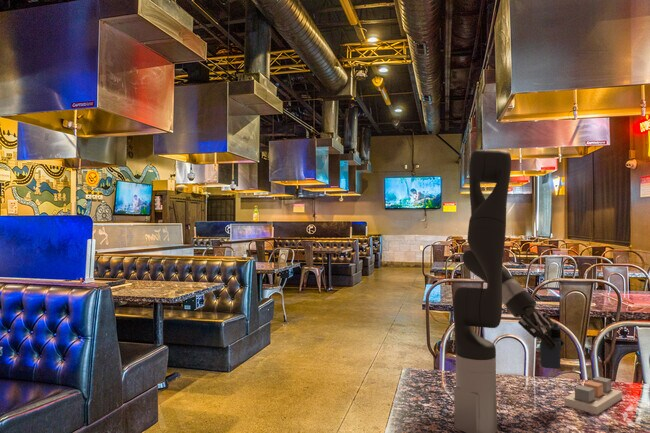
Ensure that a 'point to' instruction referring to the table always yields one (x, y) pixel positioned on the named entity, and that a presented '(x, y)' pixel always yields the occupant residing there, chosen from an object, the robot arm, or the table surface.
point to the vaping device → (551, 356)
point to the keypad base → (594, 402)
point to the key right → (603, 381)
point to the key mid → (595, 387)
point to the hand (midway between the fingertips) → (557, 346)
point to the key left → (584, 393)
